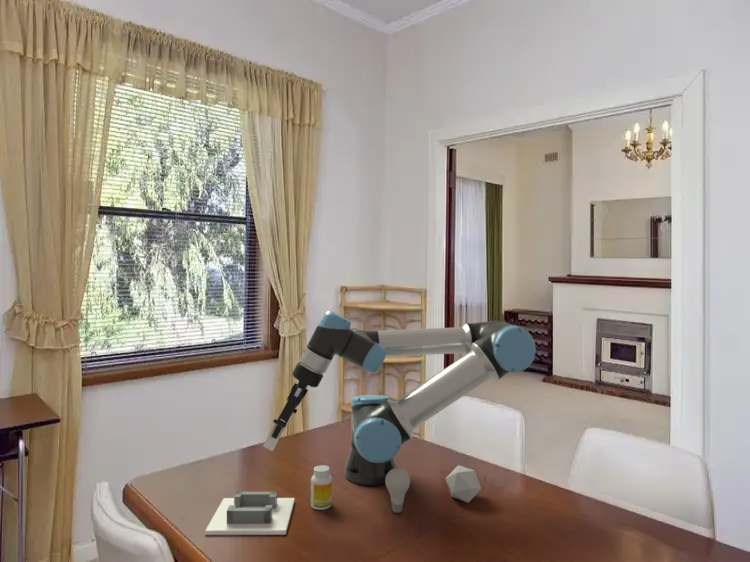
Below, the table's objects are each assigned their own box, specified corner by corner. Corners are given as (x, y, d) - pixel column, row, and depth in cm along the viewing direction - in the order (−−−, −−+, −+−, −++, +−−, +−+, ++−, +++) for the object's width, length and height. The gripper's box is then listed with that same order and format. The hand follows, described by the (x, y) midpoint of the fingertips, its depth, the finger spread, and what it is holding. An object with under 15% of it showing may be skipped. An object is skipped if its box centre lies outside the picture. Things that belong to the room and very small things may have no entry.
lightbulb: (392, 521, 123) (393, 475, 122) (380, 510, 128) (381, 466, 128) (414, 515, 125) (415, 471, 125) (401, 505, 131) (402, 462, 130)
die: (486, 501, 135) (476, 464, 140) (480, 496, 128) (469, 458, 134) (456, 508, 137) (447, 471, 142) (449, 504, 130) (439, 466, 135)
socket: (294, 501, 132) (294, 486, 132) (285, 534, 116) (285, 517, 116) (223, 501, 131) (223, 486, 131) (205, 534, 115) (205, 517, 115)
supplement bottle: (306, 504, 130) (306, 467, 130) (324, 498, 134) (324, 462, 134) (318, 512, 126) (318, 474, 126) (336, 506, 130) (336, 468, 129)
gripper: (304, 354, 146) (269, 420, 146) (291, 368, 121) (249, 448, 121) (327, 366, 146) (292, 432, 146) (320, 383, 121) (277, 463, 121)
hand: (272, 440), depth 133 cm, fingers open, 13 cm apart
